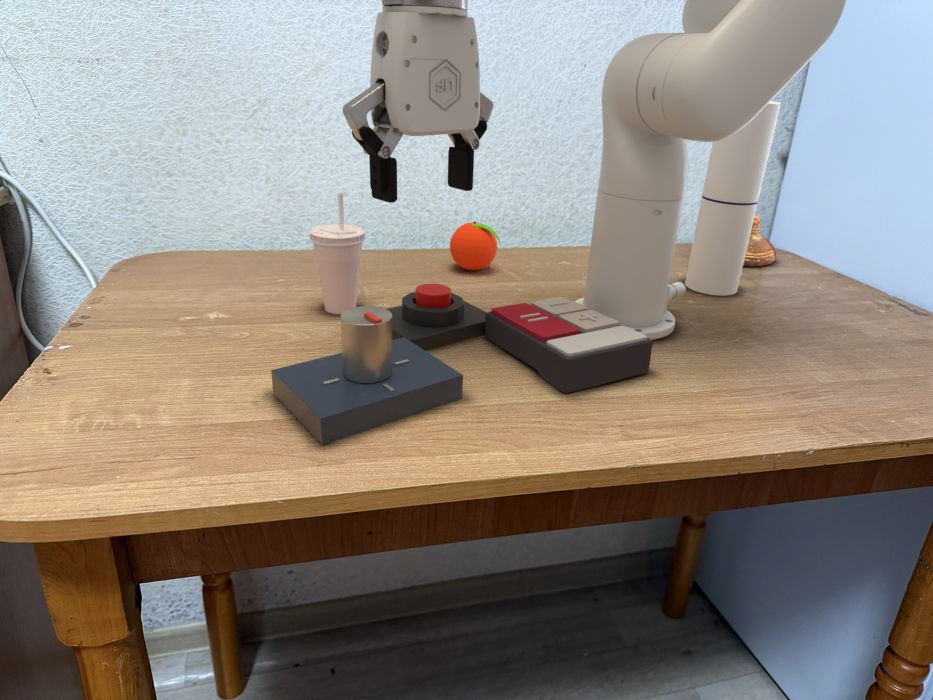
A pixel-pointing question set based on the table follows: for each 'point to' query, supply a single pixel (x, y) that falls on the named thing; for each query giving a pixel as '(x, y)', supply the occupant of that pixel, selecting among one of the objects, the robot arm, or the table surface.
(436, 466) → the table surface
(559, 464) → the table surface
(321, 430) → the panel
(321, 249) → the smoothie
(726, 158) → the cylindrical container
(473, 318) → the button block
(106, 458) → the table surface
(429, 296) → the button
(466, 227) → the clementine
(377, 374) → the knob
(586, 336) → the calculator
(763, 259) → the bell
